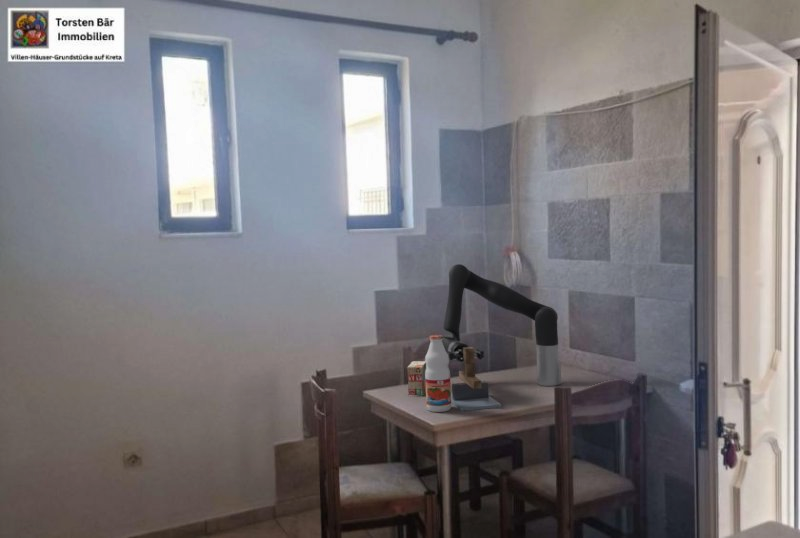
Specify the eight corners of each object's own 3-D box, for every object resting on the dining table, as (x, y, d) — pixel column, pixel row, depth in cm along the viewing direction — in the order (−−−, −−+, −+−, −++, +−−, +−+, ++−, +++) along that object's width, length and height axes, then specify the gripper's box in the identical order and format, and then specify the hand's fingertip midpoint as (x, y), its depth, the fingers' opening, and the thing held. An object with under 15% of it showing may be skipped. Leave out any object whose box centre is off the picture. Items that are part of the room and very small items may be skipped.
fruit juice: (449, 405, 240) (447, 333, 239) (452, 411, 231) (450, 336, 230) (425, 406, 240) (422, 334, 239) (427, 413, 230) (424, 338, 229)
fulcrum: (479, 391, 260) (479, 375, 260) (501, 407, 235) (500, 388, 234) (442, 394, 257) (442, 378, 257) (460, 410, 232) (459, 392, 231)
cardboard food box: (416, 384, 279) (415, 357, 279) (430, 384, 278) (429, 357, 278) (408, 396, 258) (407, 366, 258) (423, 396, 257) (422, 366, 257)
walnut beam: (466, 377, 256) (465, 343, 255) (482, 388, 236) (480, 351, 236) (458, 378, 255) (457, 344, 255) (473, 389, 236) (471, 352, 235)
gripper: (442, 343, 258) (452, 349, 242) (475, 340, 260) (487, 346, 245) (442, 361, 258) (453, 368, 242) (475, 358, 261) (488, 365, 245)
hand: (470, 357), depth 243 cm, fingers open, 8 cm apart
